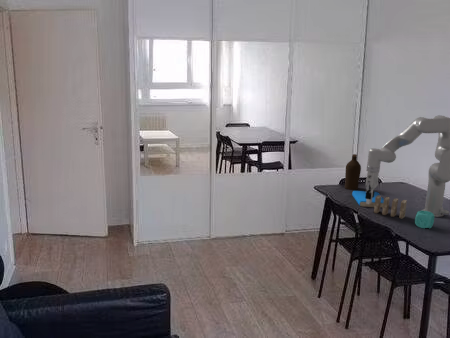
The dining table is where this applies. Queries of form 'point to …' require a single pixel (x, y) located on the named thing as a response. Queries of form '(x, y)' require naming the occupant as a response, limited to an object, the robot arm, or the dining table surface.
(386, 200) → the domino
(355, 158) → the olive oil
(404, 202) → the domino
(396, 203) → the domino
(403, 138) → the robot arm
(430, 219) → the decorative dice
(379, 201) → the domino
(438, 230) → the dining table surface
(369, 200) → the end domino
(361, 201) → the book
